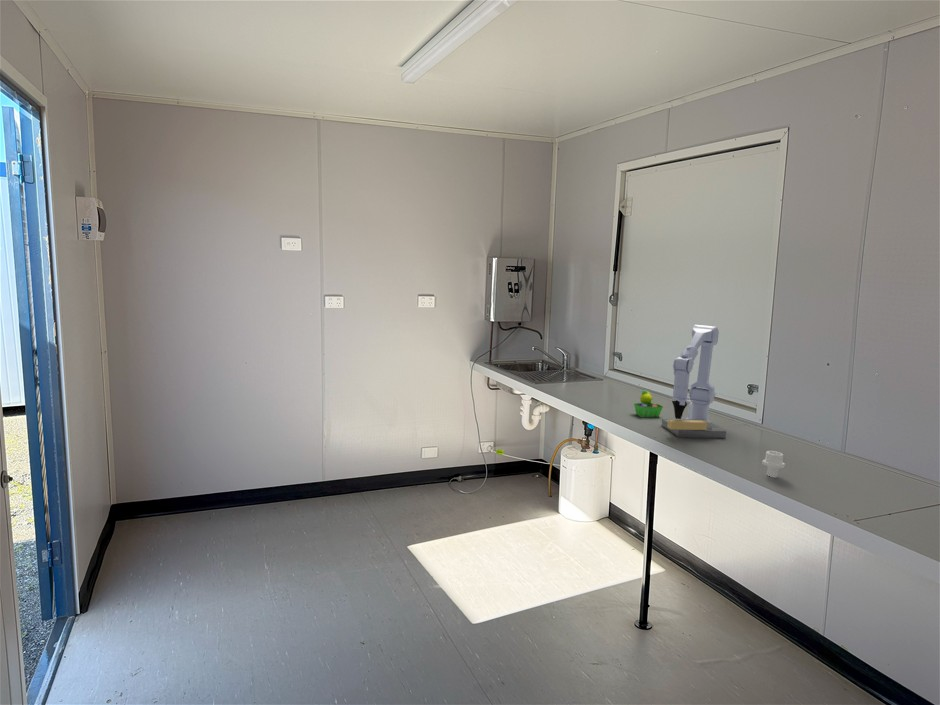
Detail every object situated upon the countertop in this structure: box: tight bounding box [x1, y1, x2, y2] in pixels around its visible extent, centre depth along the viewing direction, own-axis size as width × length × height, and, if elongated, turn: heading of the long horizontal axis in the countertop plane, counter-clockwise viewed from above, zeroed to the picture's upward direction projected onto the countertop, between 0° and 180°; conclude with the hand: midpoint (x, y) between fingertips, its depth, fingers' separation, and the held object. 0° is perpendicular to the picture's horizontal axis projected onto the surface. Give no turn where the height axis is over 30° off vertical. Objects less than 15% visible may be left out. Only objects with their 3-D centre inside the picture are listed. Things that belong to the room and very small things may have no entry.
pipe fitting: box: [761, 450, 786, 478], centre depth 213 cm, size 6×7×8 cm
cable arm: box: [667, 419, 713, 430], centre depth 257 cm, size 18×4×3 cm, turn 96°
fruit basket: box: [633, 389, 664, 418], centre depth 291 cm, size 11×9×11 cm
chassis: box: [661, 418, 727, 439], centre depth 266 cm, size 18×20×4 cm
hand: (678, 418), depth 262 cm, fingers closed
